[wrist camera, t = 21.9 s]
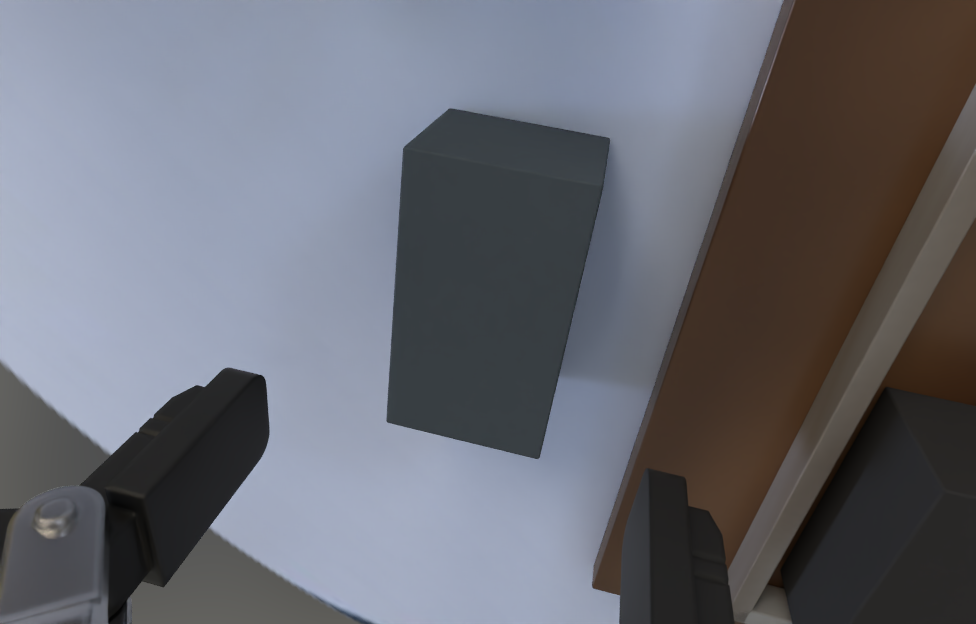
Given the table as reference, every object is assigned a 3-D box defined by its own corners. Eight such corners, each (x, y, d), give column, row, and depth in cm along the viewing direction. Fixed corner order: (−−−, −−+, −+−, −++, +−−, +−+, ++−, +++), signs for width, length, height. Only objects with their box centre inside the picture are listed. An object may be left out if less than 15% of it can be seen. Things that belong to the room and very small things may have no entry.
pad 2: (779, 569, 24) (805, 685, 21) (884, 385, 20) (943, 490, 16) (914, 604, 24) (967, 729, 20) (1056, 422, 19) (1160, 540, 15)
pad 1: (425, 347, 24) (385, 423, 20) (448, 107, 19) (402, 146, 16) (555, 377, 24) (539, 460, 20) (610, 137, 19) (603, 185, 15)
